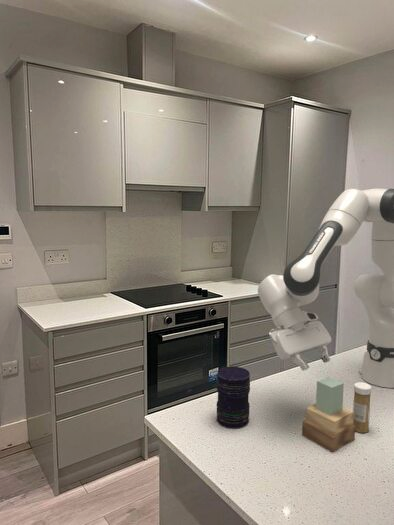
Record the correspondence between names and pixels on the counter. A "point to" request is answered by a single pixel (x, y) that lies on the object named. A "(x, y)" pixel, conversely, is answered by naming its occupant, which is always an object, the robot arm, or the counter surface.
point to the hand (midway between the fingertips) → (317, 365)
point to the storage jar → (233, 397)
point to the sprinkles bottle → (361, 407)
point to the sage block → (329, 396)
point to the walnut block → (328, 436)
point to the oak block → (330, 420)
